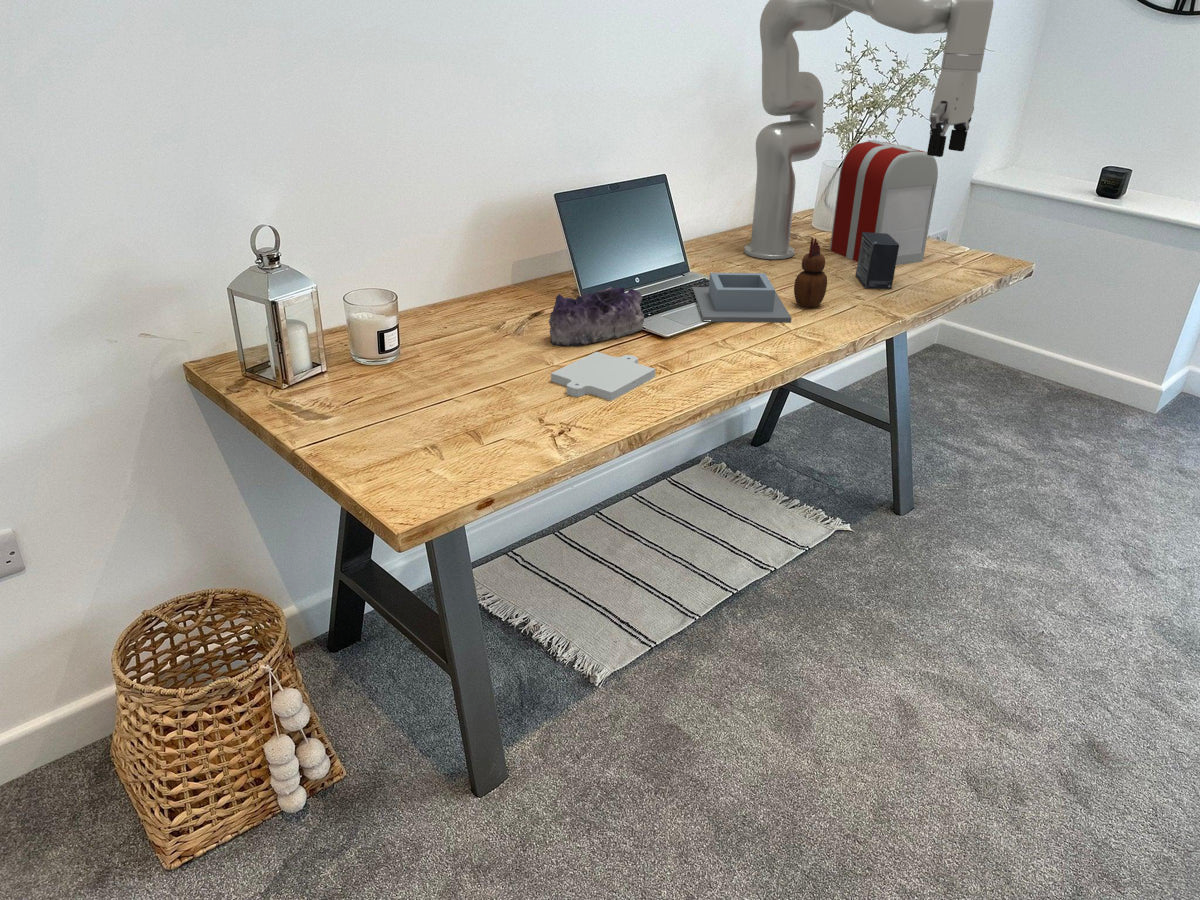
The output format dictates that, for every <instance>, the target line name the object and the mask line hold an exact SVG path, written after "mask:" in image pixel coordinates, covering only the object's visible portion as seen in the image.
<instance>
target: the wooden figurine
mask: <svg viewBox="0 0 1200 900" xmlns="http://www.w3.org/2000/svg"><path fill="white" fill-rule="evenodd" d="M809 245H810V246H809V250H808V252H807V253H806V254H804V256H803V258H802V260H801V268H802V271H801V272H799V273H798V274H797V276H796V278H795V280H794V285H793V292H794V294H793V295H794V298H795V302H796V303H797V304H798V305H799V306H800V307H803V308H809V309H812V308H815V307H818V306H820V305H821V304H822V302H823V301H824V298H825V296H826V293H827V287H828V276H827V274H826V273H825V272H824V271H823V270H824V269H825V265H826V258H825V256H824V255H823V254H822V253H821V245H819V242H817V238H814V237H811V239H810V244H809Z"/></svg>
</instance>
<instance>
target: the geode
mask: <svg viewBox="0 0 1200 900" xmlns="http://www.w3.org/2000/svg"><path fill="white" fill-rule="evenodd" d="M642 301H643V296H642V294H641V292H640V291H638V290H635V289H634V288H633V289H629V290H628V291H627V292H626V291H625V288H624V287H619V288H618V287H617V288H613V287H612V286H609V288H606V289H605V290H604V289H601V290H598V291H597V292H594V293H590V292H589V293H587V294H583V295H580V296H577V297H576V298H573V297H564V296H563V295H562V294H560V293H558V295H556V298H555V302H554V306H553V307H552V311H551V313H550V317H549V320H548V325H549V327H550V329H549V334H550V344H552V346H556V347H582V346H586V345H589V344H593V343H598V342H601V341H607V340H612V339H615V338H616V339H619V338H620V337H625V336H627V335H631V334H634V333H636V332H640V331H642V330H643V328H644V327H643V326H644V322H645V316H644V312H642V308H641V304H642Z"/></svg>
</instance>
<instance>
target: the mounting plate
mask: <svg viewBox="0 0 1200 900" xmlns="http://www.w3.org/2000/svg"><path fill="white" fill-rule="evenodd" d="M654 378H656V368H655V367H650V366H647V365H643V364H640V363H639V358H638V356H634V355H631V354H625V355H622V356H612V355H609V354H606V353H603V352H602V353H601V352H600V351H595V352H593V353H590V354H589V355H587V356H585V357H583V358H580V359H577V360H575V361H574V362H572V363H570V364H567V365H565V366H563V367H561V368H558V369H557V370H555V371H553V372H551V373H550V382H551V383H555V384H557V385H561V386H563V387H566V394H567V395H569V396H571V397H574V398H580V397H584V396H585V395H592V396H595V397H599V398H602V399H604V400H608V401H611V402H612V401H614V400H615V399H617V398H619V397H621V396H623V395H625V394H626V393H628V392H630V391H632V390H634V389H636V388H638V387H639V386H641V385H643V384H645V383H647V382H649V381H650V380H652V379H654Z"/></svg>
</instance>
